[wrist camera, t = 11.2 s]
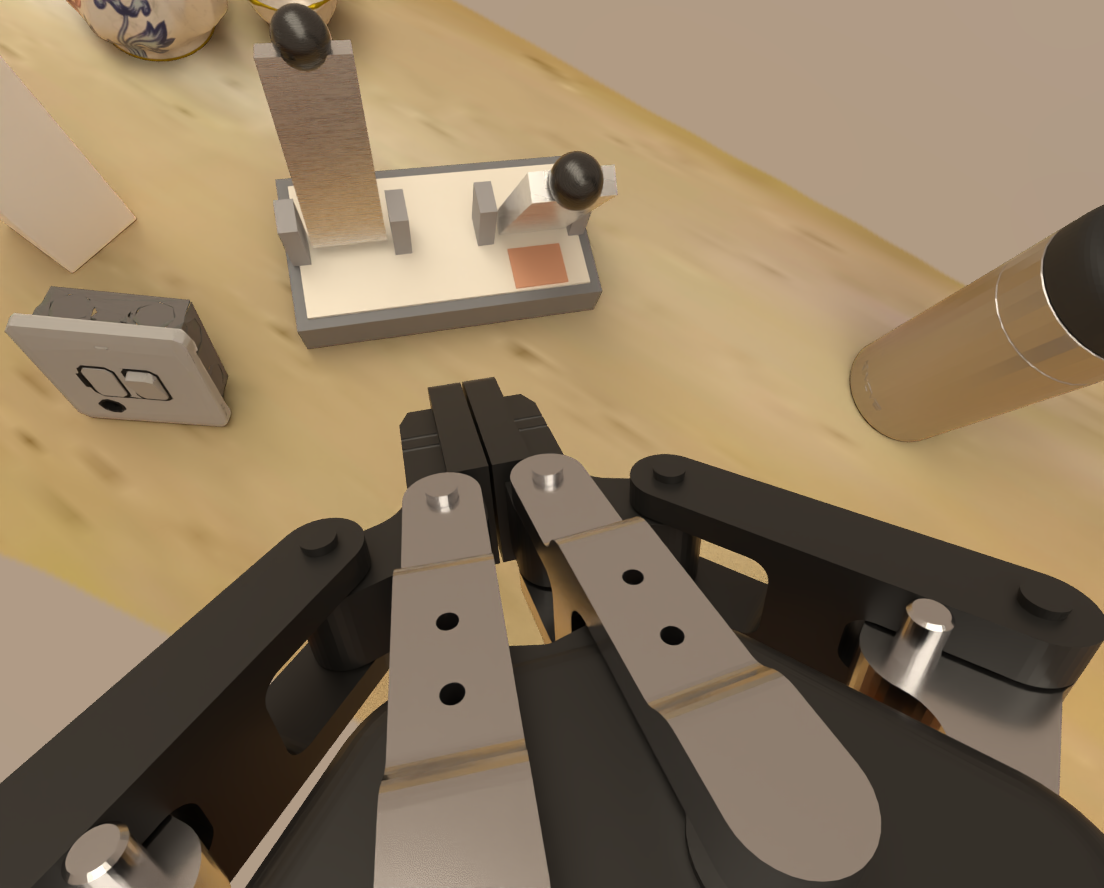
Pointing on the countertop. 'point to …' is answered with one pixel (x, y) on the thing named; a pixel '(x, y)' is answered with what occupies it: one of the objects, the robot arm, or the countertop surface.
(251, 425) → the countertop surface
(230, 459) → the countertop surface
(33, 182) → the milk
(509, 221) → the lever inner
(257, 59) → the lever outer
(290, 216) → the switch panel
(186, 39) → the chinaware
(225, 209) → the countertop surface
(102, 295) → the electrical switch
